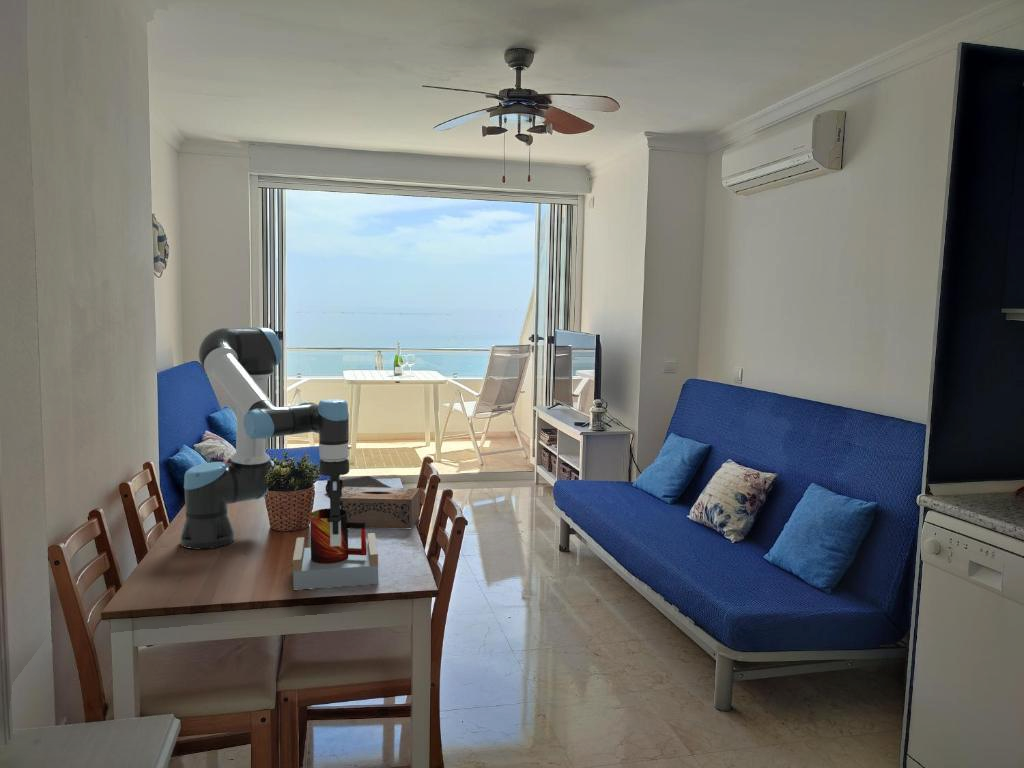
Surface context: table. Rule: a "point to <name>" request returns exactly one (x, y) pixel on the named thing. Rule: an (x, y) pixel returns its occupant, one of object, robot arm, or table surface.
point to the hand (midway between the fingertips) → (335, 537)
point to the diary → (362, 482)
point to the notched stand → (335, 568)
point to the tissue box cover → (382, 506)
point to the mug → (321, 538)
